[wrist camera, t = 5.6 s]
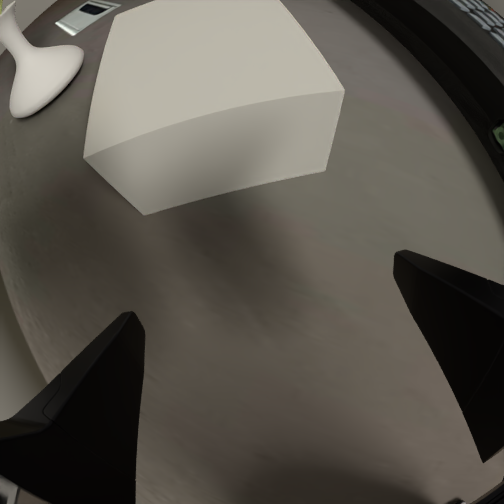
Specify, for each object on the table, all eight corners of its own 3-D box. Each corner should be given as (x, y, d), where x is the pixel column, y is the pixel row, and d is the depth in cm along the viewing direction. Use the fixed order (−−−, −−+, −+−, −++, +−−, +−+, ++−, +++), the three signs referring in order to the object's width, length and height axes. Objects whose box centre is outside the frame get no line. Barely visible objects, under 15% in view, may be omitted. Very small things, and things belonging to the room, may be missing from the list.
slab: (324, 172, 18) (344, 90, 11) (145, 217, 18) (83, 158, 11) (264, 41, 22) (258, -23, 15) (143, 72, 23) (115, 15, 15)
